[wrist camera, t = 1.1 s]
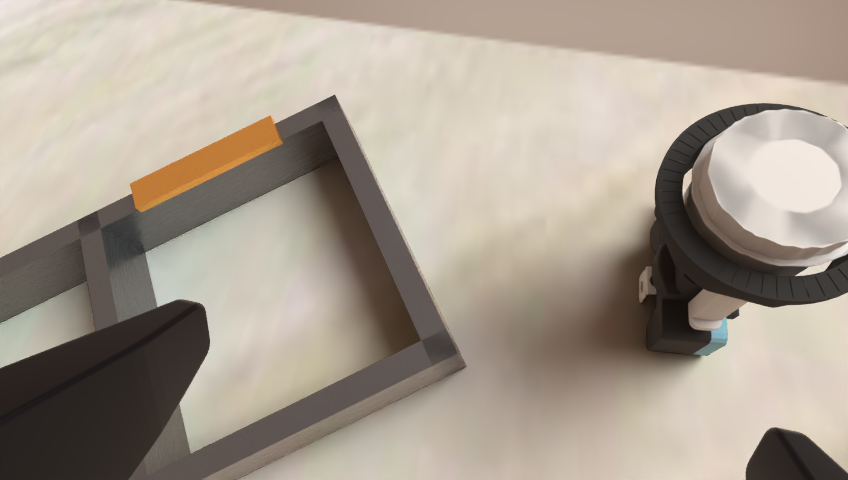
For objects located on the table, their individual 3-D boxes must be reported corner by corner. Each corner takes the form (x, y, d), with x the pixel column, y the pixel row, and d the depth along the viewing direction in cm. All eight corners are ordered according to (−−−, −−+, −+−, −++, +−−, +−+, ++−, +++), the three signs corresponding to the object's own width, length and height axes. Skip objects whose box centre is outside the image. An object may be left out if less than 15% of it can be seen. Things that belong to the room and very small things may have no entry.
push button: (608, 202, 23) (662, 37, 14) (743, 208, 22) (898, 32, 13) (606, 356, 21) (670, 278, 12) (758, 371, 20) (960, 298, 10)
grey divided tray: (466, 366, 22) (456, 351, 18) (-90, 640, 21) (-195, 672, 18) (352, 128, 27) (330, 86, 24) (-92, 345, 27) (-173, 331, 24)
